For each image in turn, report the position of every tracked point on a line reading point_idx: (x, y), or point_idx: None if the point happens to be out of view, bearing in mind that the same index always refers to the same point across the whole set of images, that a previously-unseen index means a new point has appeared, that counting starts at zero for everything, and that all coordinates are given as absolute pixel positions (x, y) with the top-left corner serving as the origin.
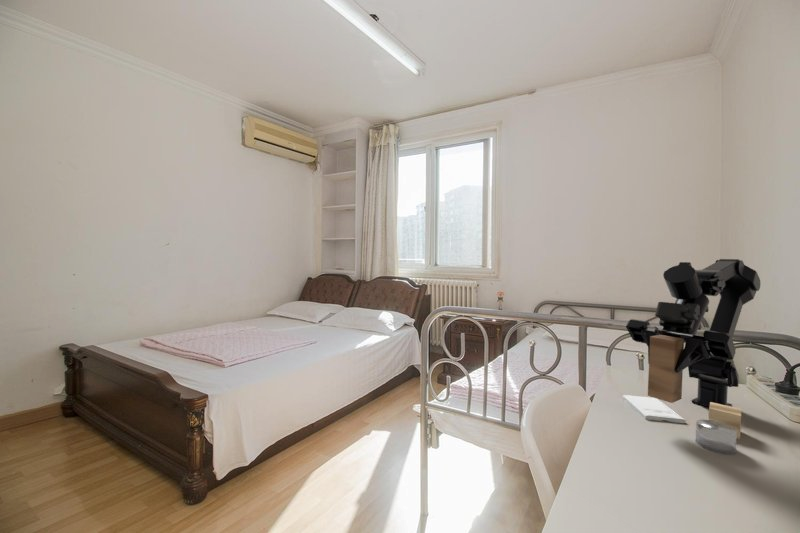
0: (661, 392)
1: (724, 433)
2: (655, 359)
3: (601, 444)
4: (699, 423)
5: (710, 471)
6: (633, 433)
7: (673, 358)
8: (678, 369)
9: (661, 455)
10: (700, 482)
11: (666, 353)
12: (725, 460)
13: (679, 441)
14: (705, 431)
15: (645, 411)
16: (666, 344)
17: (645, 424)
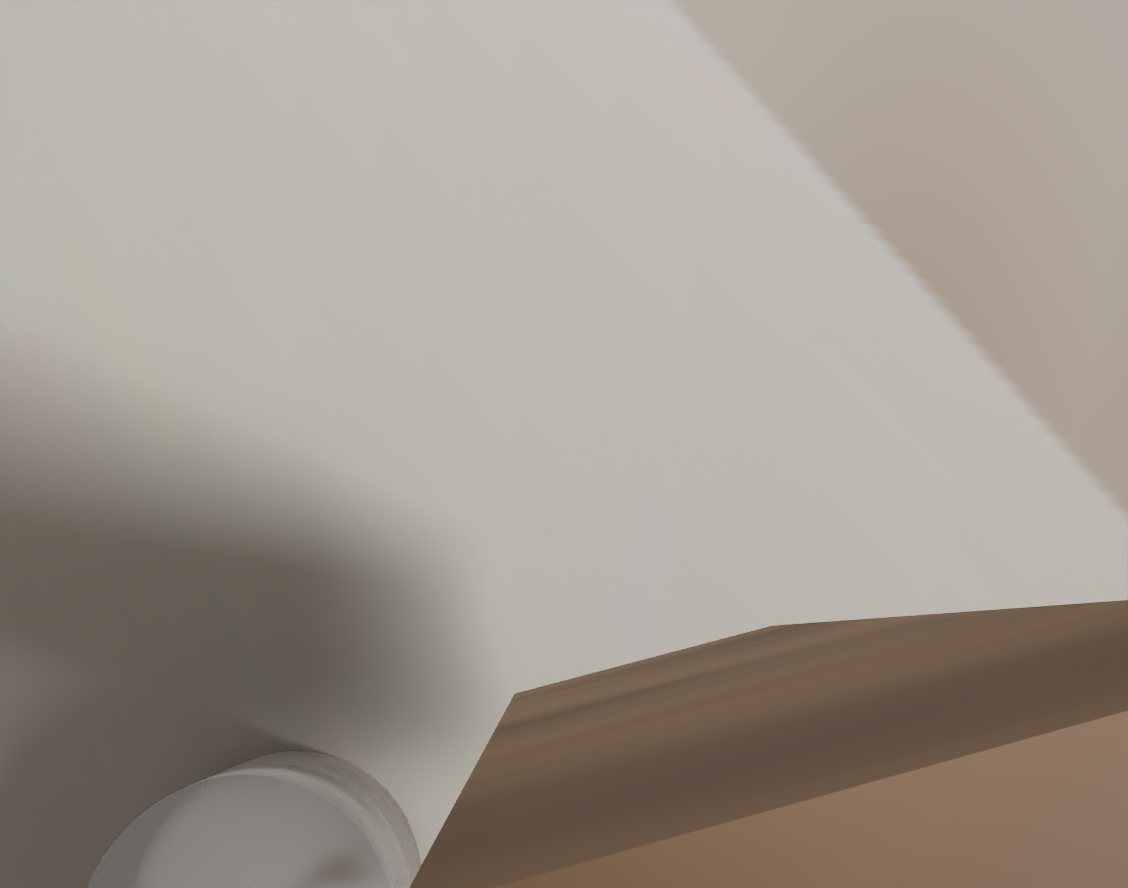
0: (635, 665)
1: (111, 846)
2: (872, 645)
3: (562, 33)
4: (336, 840)
5: (81, 427)
6: (635, 404)
7: (483, 760)
8: None
9: (330, 300)
10: (34, 231)
11: (676, 728)
12: (125, 707)
13: (434, 656)
14: (252, 770)
15: None
16: (750, 760)
17: None
